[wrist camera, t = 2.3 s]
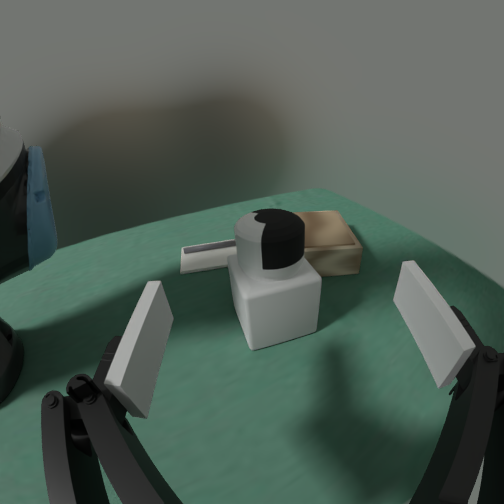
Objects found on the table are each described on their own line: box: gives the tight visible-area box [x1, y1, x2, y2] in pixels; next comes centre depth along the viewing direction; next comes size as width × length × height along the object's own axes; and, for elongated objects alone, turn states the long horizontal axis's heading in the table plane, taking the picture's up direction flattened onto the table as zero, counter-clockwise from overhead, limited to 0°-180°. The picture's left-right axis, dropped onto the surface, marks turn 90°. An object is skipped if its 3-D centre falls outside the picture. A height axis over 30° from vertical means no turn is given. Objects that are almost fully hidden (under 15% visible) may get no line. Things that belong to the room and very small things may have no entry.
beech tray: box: [294, 211, 363, 277], centre depth 39 cm, size 12×12×4 cm
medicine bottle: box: [227, 209, 322, 350], centre depth 26 cm, size 7×7×12 cm
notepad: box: [180, 239, 237, 274], centre depth 41 cm, size 10×7×2 cm
